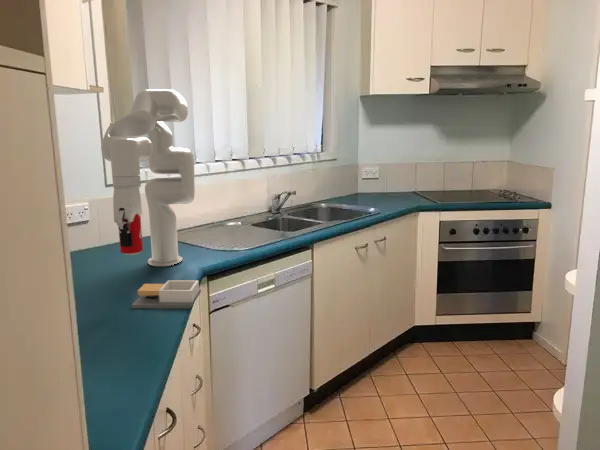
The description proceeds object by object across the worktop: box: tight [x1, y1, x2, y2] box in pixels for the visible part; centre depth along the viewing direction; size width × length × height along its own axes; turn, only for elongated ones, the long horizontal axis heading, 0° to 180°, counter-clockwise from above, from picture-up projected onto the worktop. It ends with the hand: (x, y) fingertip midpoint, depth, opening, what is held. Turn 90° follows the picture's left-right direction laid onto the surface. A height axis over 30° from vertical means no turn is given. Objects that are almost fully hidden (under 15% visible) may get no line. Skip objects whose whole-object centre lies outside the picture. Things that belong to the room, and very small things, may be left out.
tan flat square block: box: [137, 283, 165, 297], centre depth 150 cm, size 6×6×2 cm
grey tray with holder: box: [131, 279, 202, 310], centre depth 150 cm, size 14×17×4 cm
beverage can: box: [118, 213, 144, 256], centre depth 147 cm, size 6×6×12 cm
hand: (131, 242), depth 148 cm, fingers closed on beverage can, 6 cm apart
